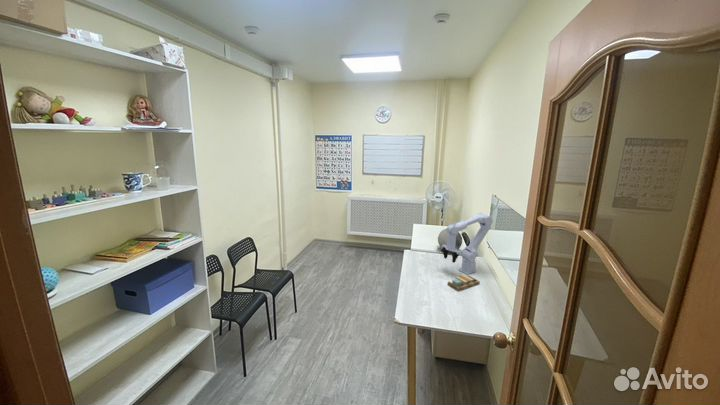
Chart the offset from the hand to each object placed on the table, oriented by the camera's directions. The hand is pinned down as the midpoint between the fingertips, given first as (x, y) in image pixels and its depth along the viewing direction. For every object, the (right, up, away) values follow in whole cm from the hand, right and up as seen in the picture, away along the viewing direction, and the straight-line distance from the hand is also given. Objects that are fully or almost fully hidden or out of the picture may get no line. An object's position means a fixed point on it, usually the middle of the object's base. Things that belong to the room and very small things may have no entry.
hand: (449, 260), depth 193 cm
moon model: (+14, -1, +43) cm, 45 cm away
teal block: (-1, -14, -16) cm, 21 cm away
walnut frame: (+5, -13, -14) cm, 20 cm away
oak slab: (+7, -13, -10) cm, 17 cm away
